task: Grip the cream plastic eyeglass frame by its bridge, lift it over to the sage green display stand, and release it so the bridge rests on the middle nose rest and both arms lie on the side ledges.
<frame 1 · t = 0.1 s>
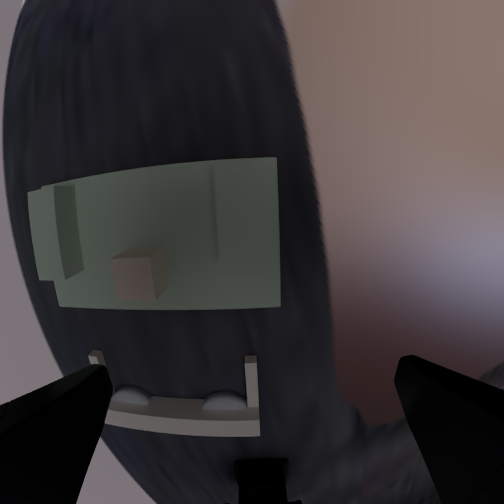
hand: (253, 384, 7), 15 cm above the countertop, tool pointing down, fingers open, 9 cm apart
stand: (151, 264, 22), on the countertop
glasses: (179, 406, 25), on the countertop
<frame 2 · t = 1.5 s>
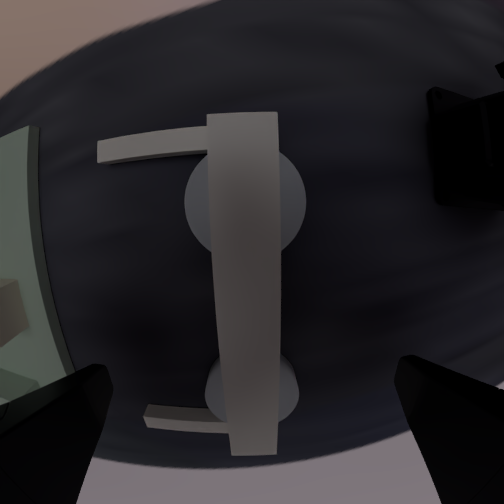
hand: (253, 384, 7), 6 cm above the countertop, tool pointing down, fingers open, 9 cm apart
stand: (18, 296, 13), on the countertop
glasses: (248, 303, 13), on the countertop
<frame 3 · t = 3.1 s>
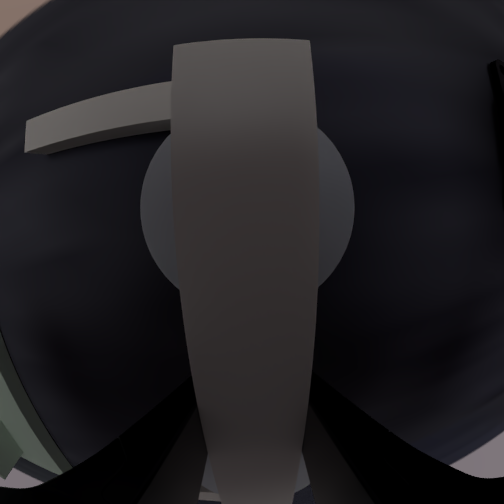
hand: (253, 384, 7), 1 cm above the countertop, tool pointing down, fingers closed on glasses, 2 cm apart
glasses: (252, 361, 9), on the countertop, touching gripper
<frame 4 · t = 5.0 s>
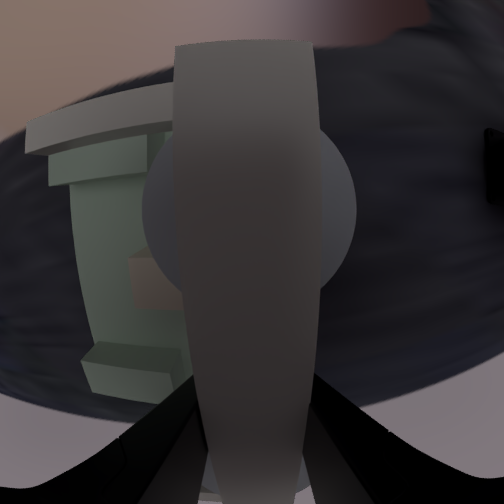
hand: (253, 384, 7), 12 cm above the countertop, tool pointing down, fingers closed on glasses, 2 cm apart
stand: (174, 264, 19), on the countertop
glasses: (253, 362, 9), point 10 cm above the countertop, touching gripper
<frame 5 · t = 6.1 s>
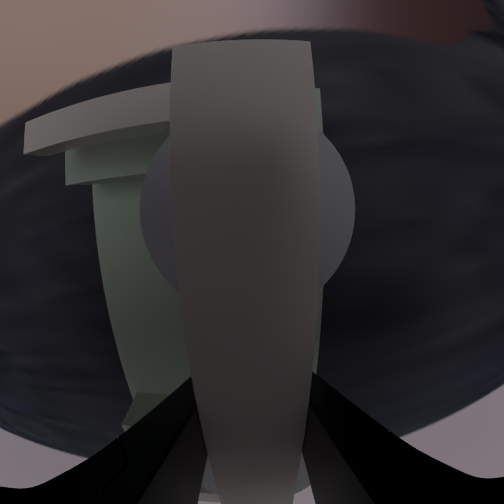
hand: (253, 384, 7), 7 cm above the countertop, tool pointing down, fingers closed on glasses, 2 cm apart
stand: (249, 294, 14), on the countertop
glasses: (252, 363, 9), point 6 cm above the countertop, touching gripper
when the fingers open (7 cm above the countertop, at t = 6.7 s): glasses drops 2 cm, resting on stand.
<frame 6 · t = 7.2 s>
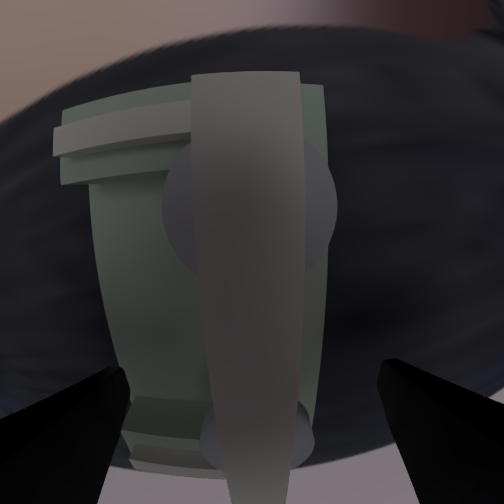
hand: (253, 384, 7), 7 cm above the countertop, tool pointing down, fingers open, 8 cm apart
stand: (250, 297, 14), on the countertop
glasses: (253, 339, 10), point 4 cm above the countertop, touching stand
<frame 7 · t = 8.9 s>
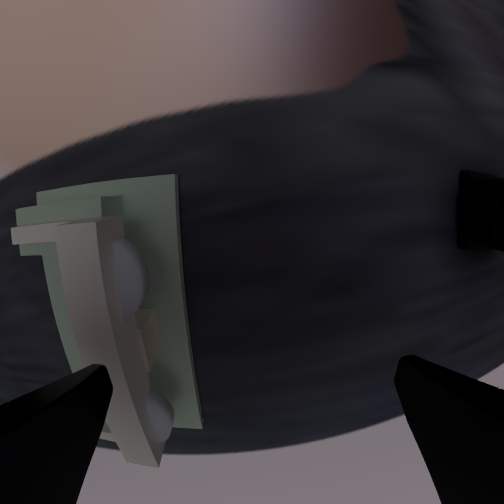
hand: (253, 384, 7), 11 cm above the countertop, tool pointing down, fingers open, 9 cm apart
stand: (142, 322, 19), on the countertop
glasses: (124, 351, 15), point 4 cm above the countertop, touching stand
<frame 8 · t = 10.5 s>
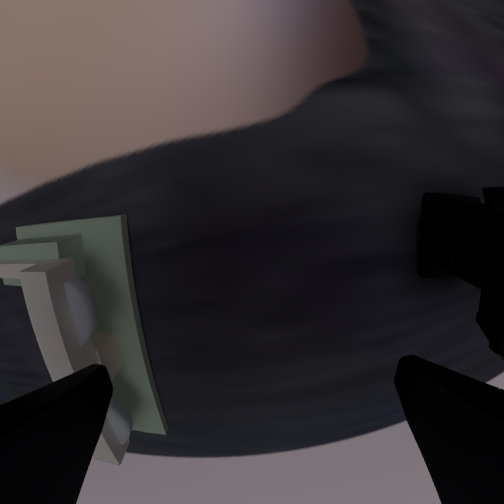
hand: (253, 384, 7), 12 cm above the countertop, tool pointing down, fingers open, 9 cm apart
stand: (107, 340, 20), on the countertop
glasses: (87, 367, 16), point 4 cm above the countertop, touching stand
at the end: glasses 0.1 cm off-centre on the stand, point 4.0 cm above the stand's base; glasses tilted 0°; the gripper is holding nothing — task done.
